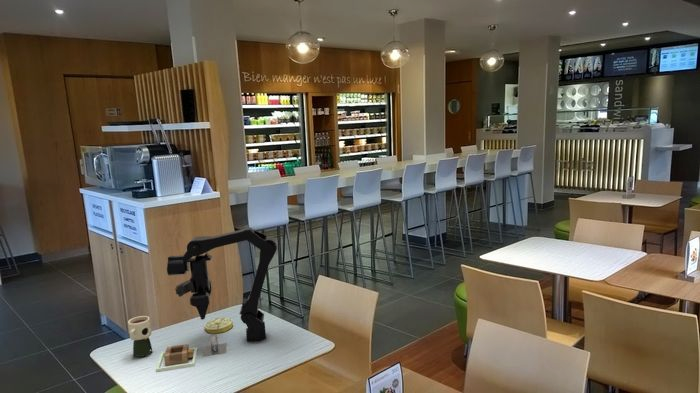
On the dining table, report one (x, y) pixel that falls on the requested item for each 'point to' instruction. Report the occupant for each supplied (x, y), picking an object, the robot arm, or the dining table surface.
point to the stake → (214, 347)
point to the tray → (159, 369)
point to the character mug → (140, 335)
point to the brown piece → (177, 355)
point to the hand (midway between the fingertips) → (203, 314)
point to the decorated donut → (218, 325)
